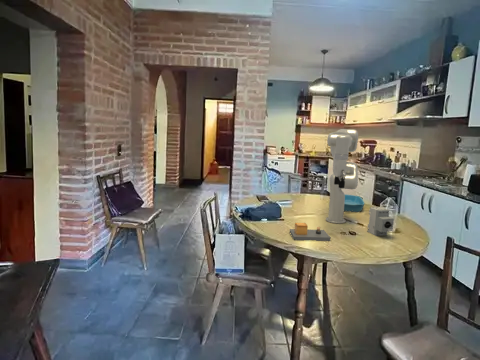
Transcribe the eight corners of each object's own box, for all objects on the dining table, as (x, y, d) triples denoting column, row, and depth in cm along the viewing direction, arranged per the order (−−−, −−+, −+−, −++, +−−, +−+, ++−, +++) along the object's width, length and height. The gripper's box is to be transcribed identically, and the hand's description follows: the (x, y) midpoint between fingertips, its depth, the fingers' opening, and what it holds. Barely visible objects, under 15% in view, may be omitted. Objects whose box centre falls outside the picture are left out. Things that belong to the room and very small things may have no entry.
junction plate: (289, 232, 203) (290, 223, 202) (323, 233, 203) (324, 224, 202) (293, 240, 189) (294, 230, 188) (330, 241, 189) (331, 231, 189)
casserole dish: (365, 214, 251) (366, 204, 250) (333, 212, 256) (334, 202, 255) (359, 203, 287) (360, 195, 286) (331, 201, 292) (332, 193, 291)
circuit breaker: (382, 239, 195) (385, 213, 193) (367, 231, 209) (369, 207, 207) (393, 238, 197) (396, 212, 195) (377, 231, 211) (380, 206, 209)
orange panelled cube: (294, 231, 198) (294, 222, 198) (304, 231, 199) (305, 222, 198) (296, 234, 193) (296, 225, 192) (307, 234, 193) (307, 225, 192)
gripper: (331, 155, 209) (329, 183, 212) (338, 158, 192) (336, 189, 195) (343, 155, 209) (341, 183, 212) (352, 159, 192) (350, 189, 195)
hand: (339, 186), depth 204 cm, fingers open, 9 cm apart
